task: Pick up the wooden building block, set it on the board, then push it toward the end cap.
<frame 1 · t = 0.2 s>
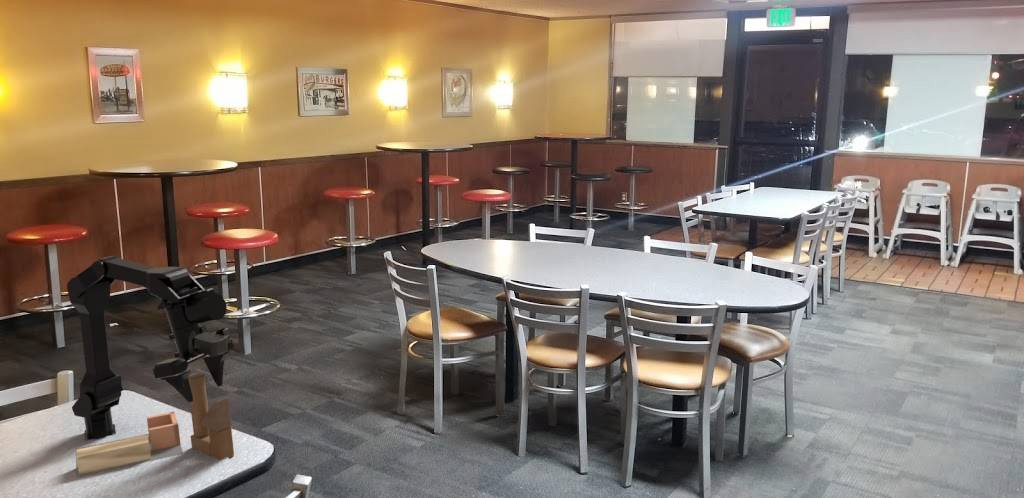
hand: (205, 393, 169), 15 cm above the table, tool pointing down, fingers open, 9 cm apart
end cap: (162, 443, 180), on the table
tan wooden pieces: (213, 453, 175), on the table
wooden building block: (115, 462, 170), point 1 cm above the table, touching board
board: (129, 453, 175), on the table
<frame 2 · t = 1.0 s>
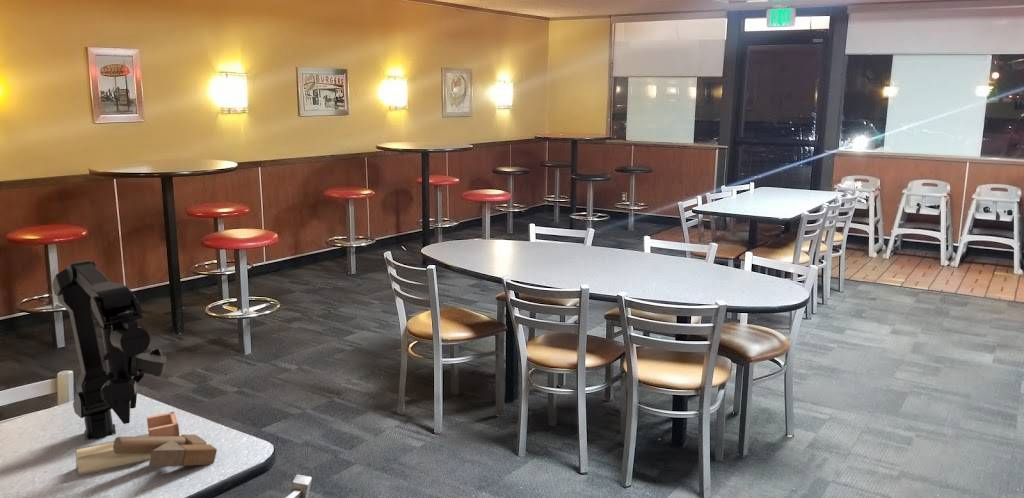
hand: (129, 415, 167), 12 cm above the table, tool pointing down, fingers open, 9 cm apart
tan wooden pieces: (206, 449, 173), point 2 cm above the table
everything else where it was.
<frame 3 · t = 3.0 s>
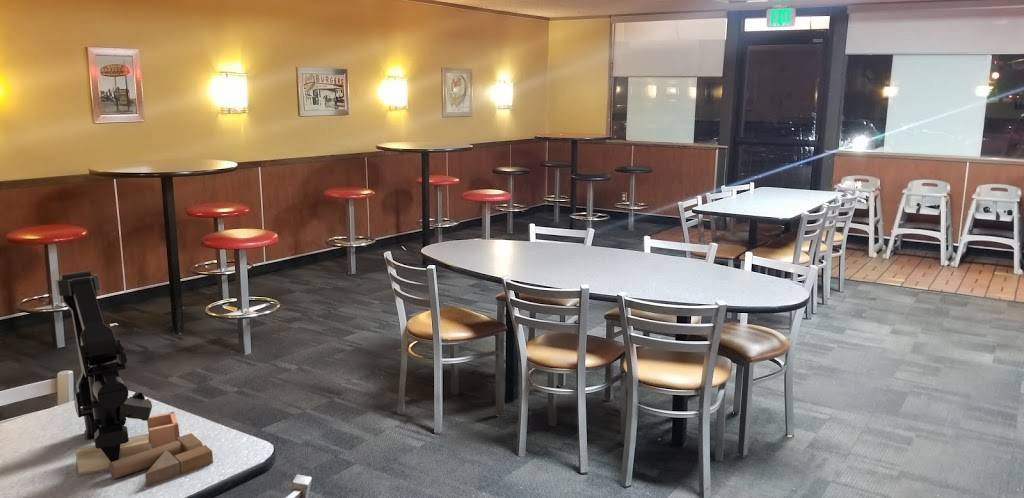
hand: (115, 459, 170), 1 cm above the table, tool pointing down, fingers closed on wooden building block, 4 cm apart
tan wooden pieces: (203, 447, 173), point 2 cm above the table, touching board
wooden building block: (115, 462, 170), point 1 cm above the table, touching board, gripper
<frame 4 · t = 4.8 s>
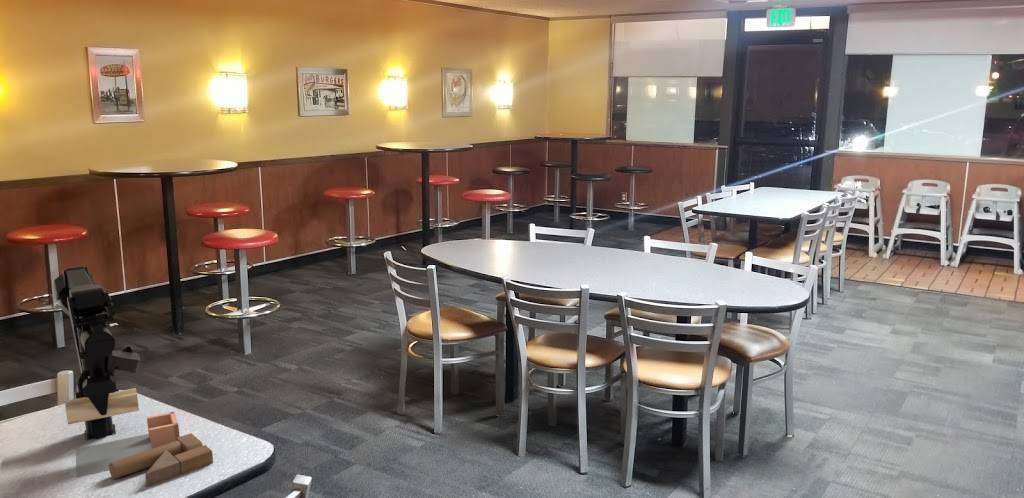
hand: (103, 411, 173), 11 cm above the table, tool pointing down, fingers closed on wooden building block, 4 cm apart
wooden building block: (103, 414, 173), point 10 cm above the table, touching gripper
everything else where it was.
when the fingers open (2 cm above the table, at t = 6.5 s): wooden building block stays where it is, resting on board.
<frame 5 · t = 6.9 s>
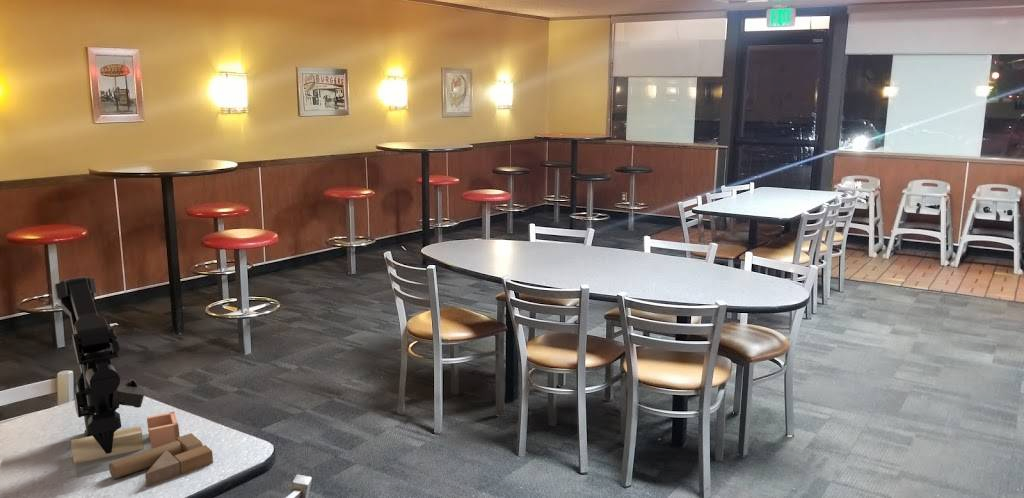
hand: (108, 445, 174), 2 cm above the table, tool pointing down, fingers open, 8 cm apart
wooden building block: (109, 452, 175), point 1 cm above the table, touching board
everything else where it was.
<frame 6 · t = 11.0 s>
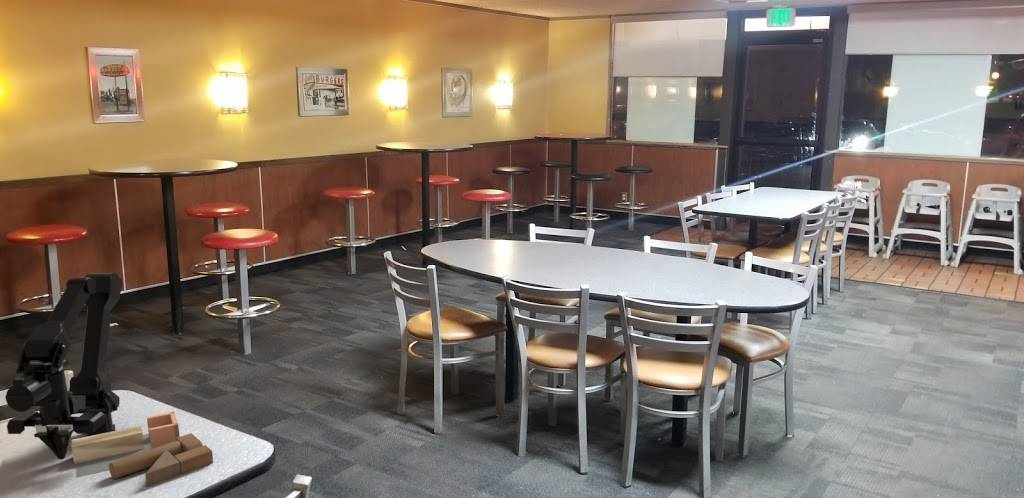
hand: (62, 458, 170), 2 cm above the table, tool pointing down, fingers closed
wooden building block: (109, 452, 175), point 1 cm above the table, touching gripper
everything else where it was.
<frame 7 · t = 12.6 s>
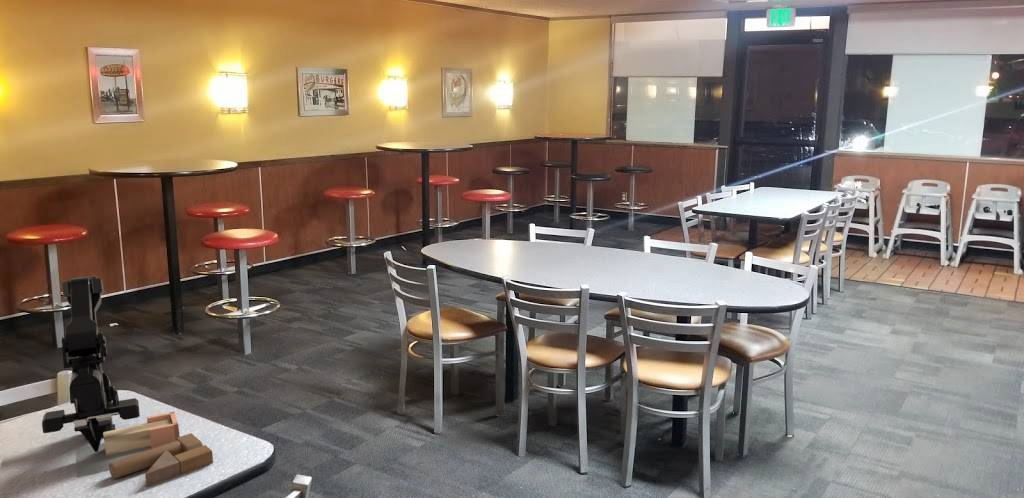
hand: (96, 450, 173), 2 cm above the table, tool pointing down, fingers closed
wooden building block: (139, 444, 178), point 1 cm above the table, touching board, gripper
everything else where it was.
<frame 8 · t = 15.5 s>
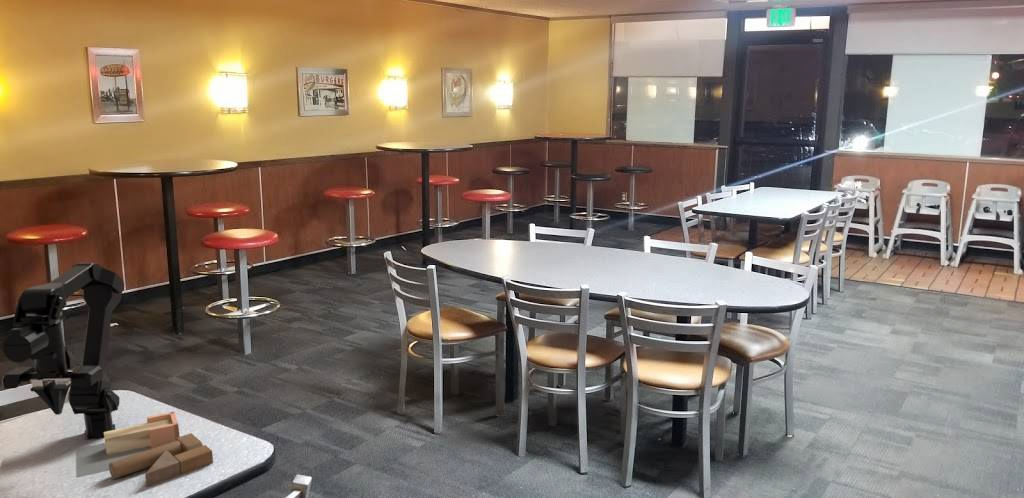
hand: (58, 413, 168), 12 cm above the table, tool pointing down, fingers closed
wooden building block: (140, 444, 178), point 1 cm above the table, touching board
everything else where it was.
at the end: wooden building block 1.3 cm from the target spot on the table beside the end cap, point 0.6 cm above the table; wooden building block tilted 0°; the gripper is holding nothing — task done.
